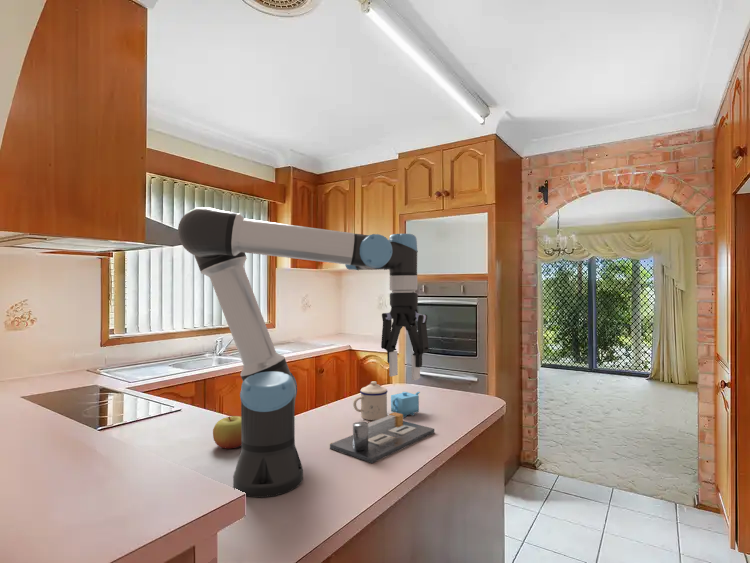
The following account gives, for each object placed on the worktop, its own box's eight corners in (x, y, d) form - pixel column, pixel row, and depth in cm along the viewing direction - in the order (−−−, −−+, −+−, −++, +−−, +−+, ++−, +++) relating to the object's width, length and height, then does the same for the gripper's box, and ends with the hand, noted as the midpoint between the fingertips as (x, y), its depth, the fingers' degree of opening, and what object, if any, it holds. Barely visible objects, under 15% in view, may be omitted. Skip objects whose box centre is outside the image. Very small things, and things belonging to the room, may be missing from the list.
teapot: (414, 408, 151) (414, 387, 151) (426, 412, 146) (426, 390, 146) (387, 415, 144) (387, 392, 144) (398, 419, 139) (398, 396, 139)
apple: (213, 441, 121) (212, 413, 121) (248, 437, 124) (248, 409, 124) (212, 454, 111) (212, 424, 112) (251, 449, 115) (251, 419, 115)
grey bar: (361, 451, 109) (360, 427, 109) (349, 447, 111) (349, 424, 111) (404, 432, 122) (404, 411, 122) (393, 429, 125) (393, 408, 125)
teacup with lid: (379, 411, 148) (379, 377, 148) (392, 418, 140) (392, 382, 140) (348, 416, 143) (347, 381, 143) (360, 424, 135) (359, 387, 135)
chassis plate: (371, 463, 105) (371, 456, 105) (330, 448, 115) (329, 442, 115) (434, 432, 126) (434, 427, 126) (394, 422, 136) (394, 417, 136)
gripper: (442, 291, 111) (443, 380, 111) (384, 291, 124) (385, 370, 124) (426, 292, 105) (427, 385, 105) (367, 291, 118) (367, 374, 118)
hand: (404, 377), depth 115 cm, fingers open, 7 cm apart
